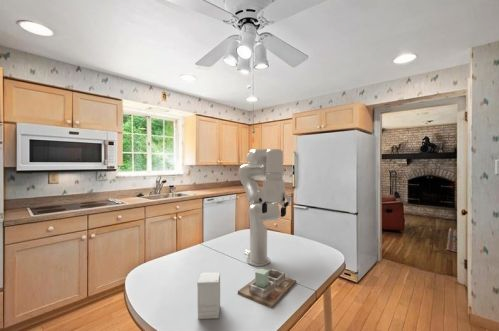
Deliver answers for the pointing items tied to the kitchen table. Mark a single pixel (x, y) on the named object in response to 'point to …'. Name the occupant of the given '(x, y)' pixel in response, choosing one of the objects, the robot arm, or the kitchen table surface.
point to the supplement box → (208, 295)
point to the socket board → (269, 289)
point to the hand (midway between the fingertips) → (273, 214)
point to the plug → (262, 278)
